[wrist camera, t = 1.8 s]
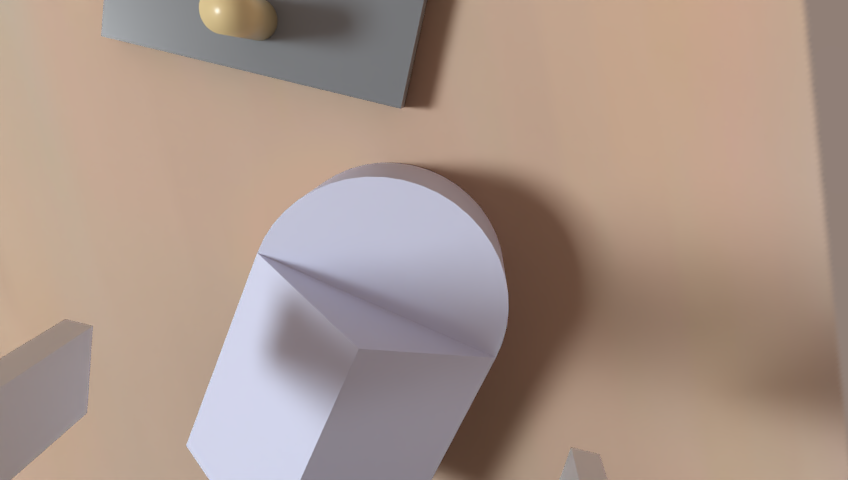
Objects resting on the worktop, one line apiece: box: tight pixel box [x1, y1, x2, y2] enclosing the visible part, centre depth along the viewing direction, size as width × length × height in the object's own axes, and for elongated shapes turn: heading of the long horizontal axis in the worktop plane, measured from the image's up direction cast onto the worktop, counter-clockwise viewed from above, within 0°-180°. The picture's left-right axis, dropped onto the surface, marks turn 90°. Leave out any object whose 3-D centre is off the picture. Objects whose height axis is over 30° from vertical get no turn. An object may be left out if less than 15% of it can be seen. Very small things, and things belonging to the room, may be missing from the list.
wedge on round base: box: [186, 163, 509, 480], centre depth 21 cm, size 9×7×13 cm
